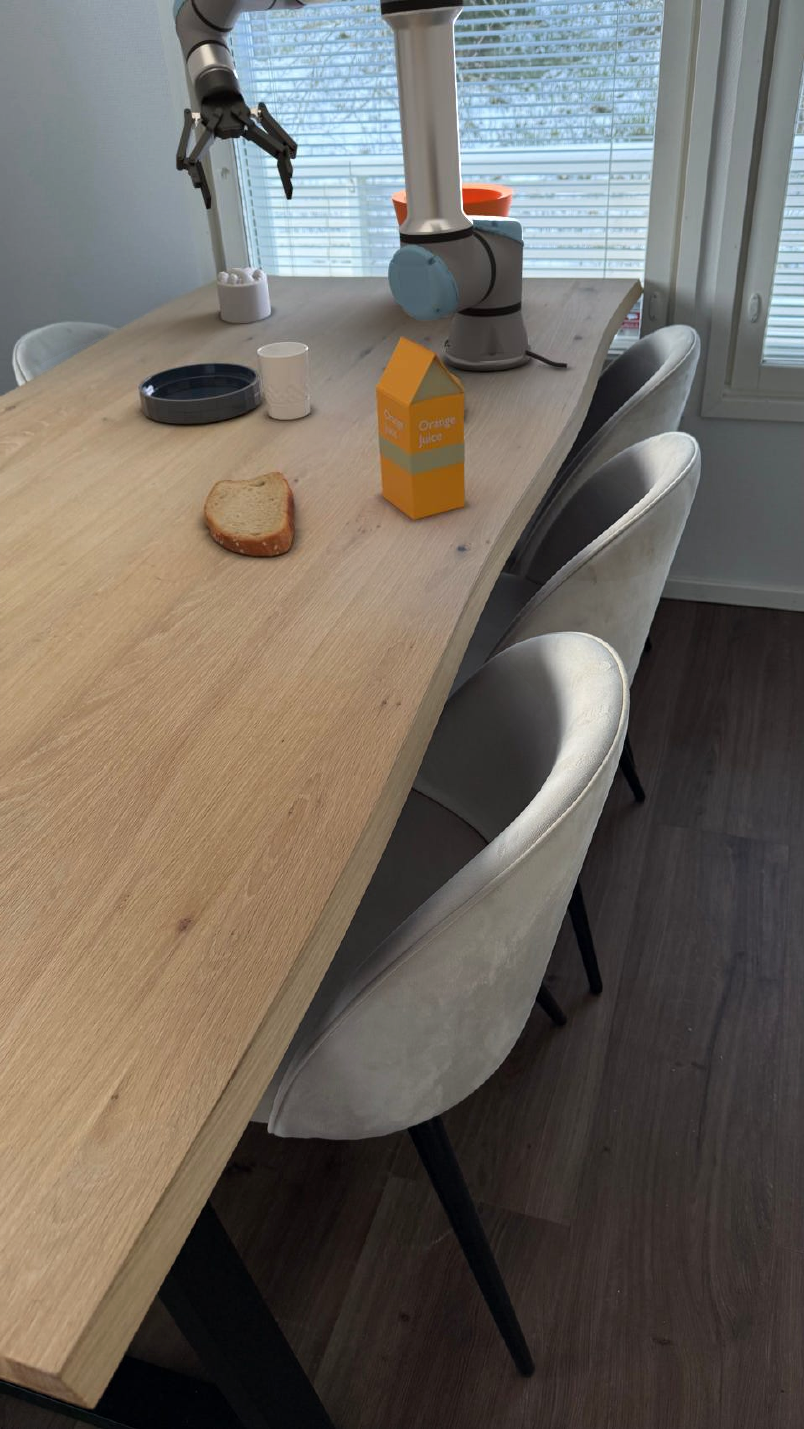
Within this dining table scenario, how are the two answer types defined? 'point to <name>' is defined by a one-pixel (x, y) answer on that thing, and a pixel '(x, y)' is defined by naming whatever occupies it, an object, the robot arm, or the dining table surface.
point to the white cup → (285, 379)
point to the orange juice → (420, 433)
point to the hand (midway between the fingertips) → (250, 199)
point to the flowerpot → (469, 201)
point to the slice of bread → (252, 515)
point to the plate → (200, 393)
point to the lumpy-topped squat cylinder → (243, 295)
